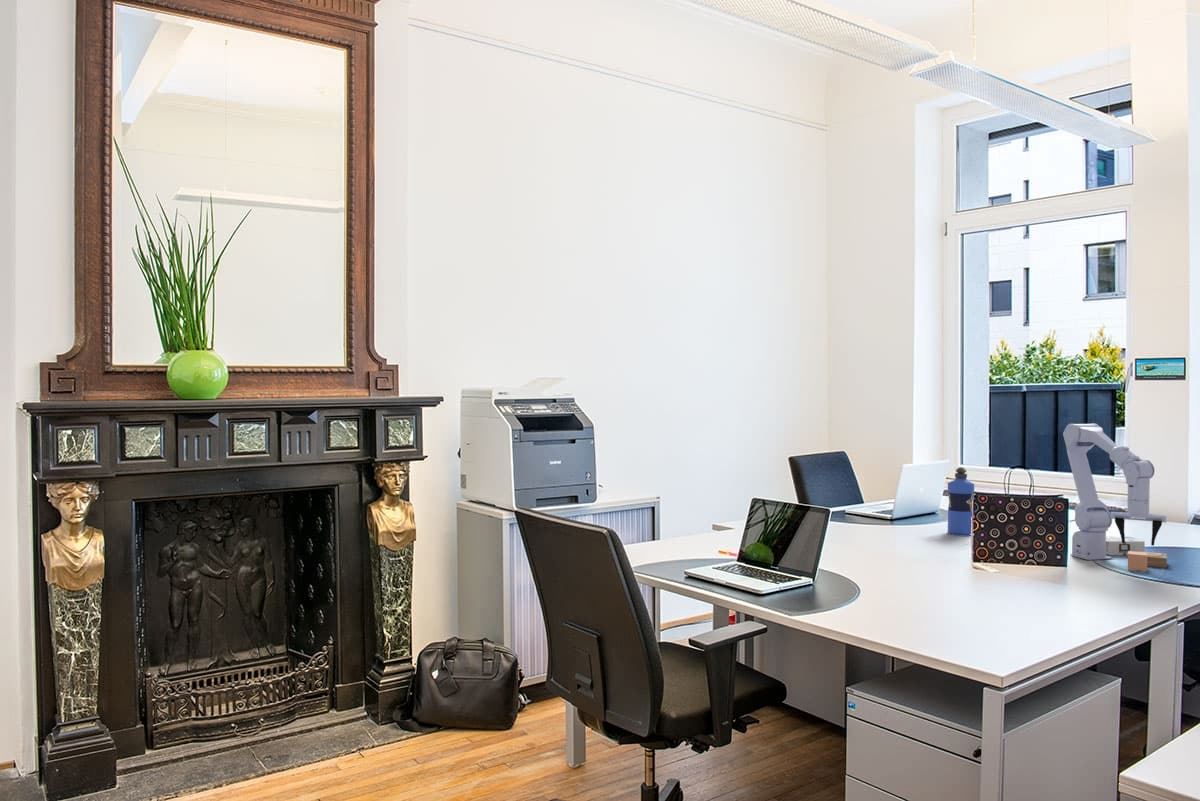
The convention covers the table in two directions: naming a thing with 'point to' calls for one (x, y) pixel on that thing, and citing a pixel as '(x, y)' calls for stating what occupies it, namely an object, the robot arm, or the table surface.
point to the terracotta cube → (1137, 560)
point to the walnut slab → (1156, 559)
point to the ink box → (1123, 545)
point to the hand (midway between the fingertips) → (1137, 543)
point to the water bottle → (960, 504)
